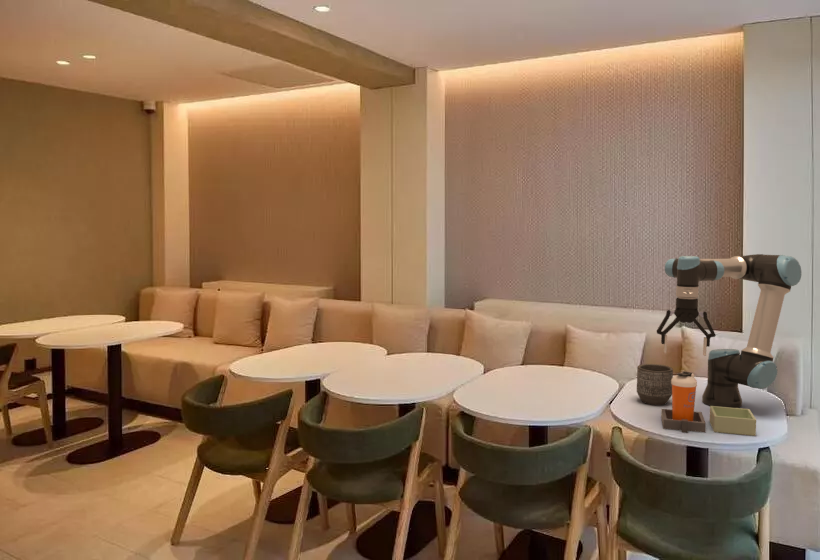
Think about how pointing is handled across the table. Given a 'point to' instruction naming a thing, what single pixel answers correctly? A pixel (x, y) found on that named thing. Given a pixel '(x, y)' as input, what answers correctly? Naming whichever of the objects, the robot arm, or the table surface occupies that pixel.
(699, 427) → the collar
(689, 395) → the shaker bottle
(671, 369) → the planter
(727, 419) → the sage holder
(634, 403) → the table surface
